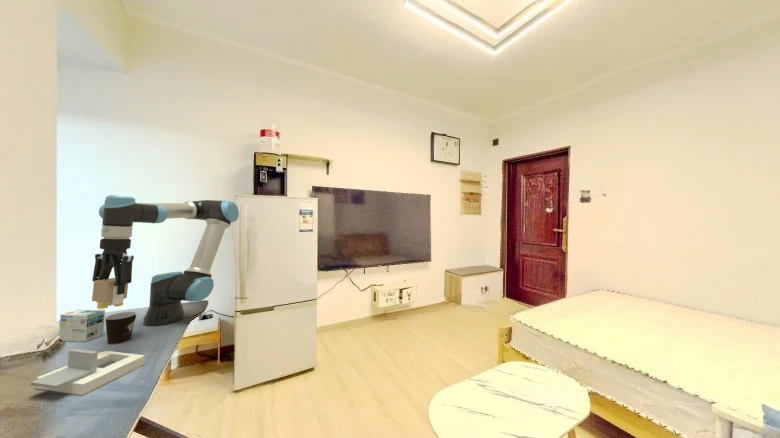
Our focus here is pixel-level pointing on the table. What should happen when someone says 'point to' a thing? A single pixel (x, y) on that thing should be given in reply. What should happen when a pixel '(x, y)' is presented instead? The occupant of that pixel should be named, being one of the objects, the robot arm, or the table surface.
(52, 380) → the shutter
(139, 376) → the table surface
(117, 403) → the table surface
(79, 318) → the light bulb box
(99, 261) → the robot arm
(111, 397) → the table surface
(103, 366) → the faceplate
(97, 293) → the plug
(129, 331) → the coffee mug
